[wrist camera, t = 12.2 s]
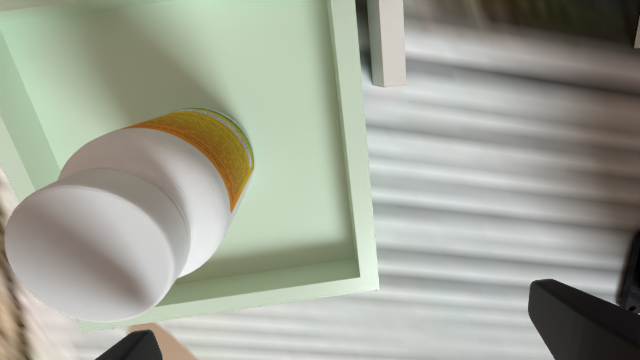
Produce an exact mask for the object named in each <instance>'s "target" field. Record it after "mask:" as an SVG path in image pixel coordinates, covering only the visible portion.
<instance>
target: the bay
mask: <svg viewBox="0 0 640 360" xmlns="http://www.w3.org/2000/svg"><path fill="white" fill-rule="evenodd" d="M367 12H368V26H369V39H370V53H371V67H372V80H373V85H374V86H379V87H383V88H386V87H393V86H400V85H406V68H405V43H404V18H403V0H367ZM634 48H640V17H639V23H638V28H637V34H636V39H635V44H634Z"/></svg>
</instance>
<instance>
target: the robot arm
mask: <svg viewBox="0 0 640 360" xmlns="http://www.w3.org/2000/svg"><path fill="white" fill-rule="evenodd" d="M528 313H529V316H530V319H531V321H532V322H533V324H534V326H535V327H536V329H537V331H538V332H539V334H540V336H541V337H542V339H543V341H544V342H545V344H546V345H547V347H548V349H549V350H550V352H551V354H552V355H553V357H554V359H555V360H640V315H639V314H637V313H640V232H639V233H638V234H637V235H636V237H635V241H634V245H633V250H632V254H631V258H630V263H629V267H628V272H627V276H626V280H625V285H624V289H623V294H622V298H621V302H620V306H617V305H615V304H612V303H610V302H607V301H605V300H603V299H600V298H598V297H595V296H593V295H590V294H588V293H585V292H583V291H581V290H578V289H576V288H573V287H571V286H568V285H566V284H563V283H561V282H559V281H556V280H553V279H542V280H535V281H533V282H532V283H531V285H530V292H529V303H528ZM95 360H163V359H162V353H161V351H160V348H159V346H158V343H157V340H156V338H155V335H154V333H153V332H152V331H151V330H140V331H134V332H131V333H130V334H128V335H127V336H126V337H124V338H123V339H122V340H120V341H119V342H118V343H116V344H115V345H114V346H112V347H111V348H110V349H108V350H107V351H106V352H104V353H103V354H102V355H100V356H99V357H98V358H96V359H95Z"/></svg>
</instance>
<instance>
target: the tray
mask: <svg viewBox="0 0 640 360" xmlns="http://www.w3.org/2000/svg"><path fill="white" fill-rule="evenodd" d="M194 107H201V108H208V109H213V110H216V111H218V112H221V113H223V114H225V115H227V116H228V117H230V118H231V119H233V120H234V121H235V122H236V123H238V124H239V125H240V126H241V128H242V129H243V130H244V131H245V133H246V134H247V136H248V138H249V140H250V142H251V144H252V147H253V151H254V157H255V168H254V173H253V177H252V179H251V182H250V184H249V187H248V189H247V191H246V193H245V195H244V197H243V199H242V201H241V203H240V205H239V207H238V210H237V212H236V214H235V216H234V218H233V220H232V222H231V224H230V226H229V228H228V231H227V233H226V235H225V237H224V239H223V240H222V242H221V244H220V245H219V247H218V248H217V250H216V251H215V252H214V254H213V255H212V256H211V257H210V258H209V259H208V260H207V261H206V262H205V263H204V264H203V265H202V266H200V267H199V268H197V269H196V270H194V271H192V272H191V273H189V274H187V275H184V276H182V277H179V278H177V279H176V280H175V282H174V283H173V285H172V286H171V288H170V289H169V291H168V292H167V294H166V295H165V296H164V298H163V299H162V300H161V301H160V302H159V303H158V304H157V305H156V306H155V307H153V308H152V309H150V310H149V311H147V312H146V313H144V314H142V315H139V316H137V317H135V318H132V319H128V320H123V321H118V322H91V321H85V320H80V319H77V321H78V323H79V325H80V328H81V330H82V332H88V331H95V330H102V329H109V328H116V327H123V326H129V325H136V324H143V323H150V322H157V321H164V320H171V319H178V318H185V317H192V316H199V315H206V314H213V313H219V312H226V311H233V310H240V309H247V308H254V307H261V306H268V305H275V304H282V303H289V302H296V301H303V300H309V299H316V298H323V297H330V296H337V295H344V294H351V293H358V292H365V291H372V290H379V278H378V266H377V255H376V243H375V231H374V219H373V207H372V196H371V184H370V172H369V160H368V148H367V137H366V125H365V113H364V101H363V89H362V78H361V66H360V54H359V42H358V30H357V19H356V7H355V0H0V165H1V167H2V169H3V171H4V173H5V175H6V177H7V179H8V181H9V183H10V185H11V187H12V189H13V191H14V193H15V195H16V197H17V199H18V201H19V203H21V202H22V201H23V200H24V199H25V198H26V197H28V196H29V195H30V194H32V193H33V192H35V191H37V190H39V189H41V188H43V187H45V186H47V185H49V184H51V183H53V182H55V181H57V180H58V177H59V175H60V173H61V170H62V168H63V167H64V165H65V164H66V162H67V161H68V159H69V158H70V157H71V156H72V155H73V154H74V153H75V152H76V151H77V150H78V149H80V148H81V147H82V146H83V145H85V144H86V143H88V142H90V141H92V140H93V139H95V138H98V137H100V136H102V135H104V134H107V133H109V132H112V131H115V130H118V129H122V128H125V127H128V126H132V125H135V124H138V123H141V122H144V121H147V120H150V119H153V118H157V117H159V116H163V115H166V114H169V113H172V112H174V111H177V110H181V109H186V108H194Z"/></svg>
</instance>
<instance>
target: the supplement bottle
mask: <svg viewBox="0 0 640 360" xmlns="http://www.w3.org/2000/svg"><path fill="white" fill-rule="evenodd" d="M254 168H255V157H254V151H253V147H252V144H251V142H250V140H249V138H248V136H247V134H246V133H245V131H244V130H243V129H242V128H241V126H240V125H239V124H238V123H236V122H235V121H234V120H233V119H231V118H230V117H228V116H227V115H225V114H223V113H221V112H218V111H216V110H213V109H208V108H201V107H194V108H186V109H181V110H177V111H174V112H172V113H169V114H166V115H163V116H159V117H157V118H153V119H150V120H147V121H144V122H141V123H138V124H135V125H132V126H128V127H125V128H122V129H118V130H115V131H112V132H109V133H107V134H104V135H102V136H100V137H98V138H95V139H93V140H92V141H90V142H88V143H86V144H85V145H83V146H82V147H81V148H80V149H78V150H77V151H76V152H75V153H74V154H73V155H72V156H71V157H70V158H69V159H68V161H67V162H66V164H65V165H64V167H63V168H62V170H61V173H60V175H59V177H58V180H57V181H55V182H53V183H51V184H49V185H47V186H45V187H43V188H41V189H39V190H37V191H35V192H33V193H32V194H30V195H29V196H28V197H26V198H25V199H24V200H23V201H22V202H21V203H20V204H19V205H18V206H17V207H16V208H15V209H14V211H13V213H12V215H11V216H10V218H9V220H8V223H7V226H6V232H5V250H6V255H7V258H8V261H9V263H10V266H11V268H12V270H13V271H14V273H15V275H16V276H17V278H18V279H19V281H20V282H21V283H22V284H23V286H24V287H25V288H26V289H27V290H28V291H29V292H30V293H31V294H32V295H33V296H34V297H35V298H37V299H38V300H39V301H41V302H42V303H44V304H45V305H47V306H48V307H50V308H52V309H54V310H56V311H58V312H60V313H62V314H65V315H67V316H70V317H73V318H76V319H80V320H85V321H91V322H118V321H123V320H128V319H132V318H135V317H137V316H139V315H142V314H144V313H146V312H147V311H149V310H150V309H152V308H153V307H155V306H156V305H157V304H158V303H159V302H160V301H161V300H162V299H163V298H164V296H165V295H166V294H167V292H168V291H169V289H170V288H171V286H172V285H173V283H174V282H175V280H176V279H177V278H179V277H182V276H184V275H187V274H189V273H191V272H192V271H194V270H196V269H197V268H199V267H200V266H202V265H203V264H204V263H205V262H206V261H207V260H208V259H209V258H210V257H211V256H212V255H213V254H214V252H215V251H216V250H217V248H218V247H219V245H220V244H221V242H222V240H223V239H224V237H225V235H226V233H227V231H228V228H229V226H230V224H231V222H232V220H233V218H234V216H235V214H236V212H237V210H238V207H239V205H240V203H241V201H242V199H243V197H244V195H245V193H246V191H247V189H248V187H249V184H250V182H251V179H252V177H253V173H254Z"/></svg>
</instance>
